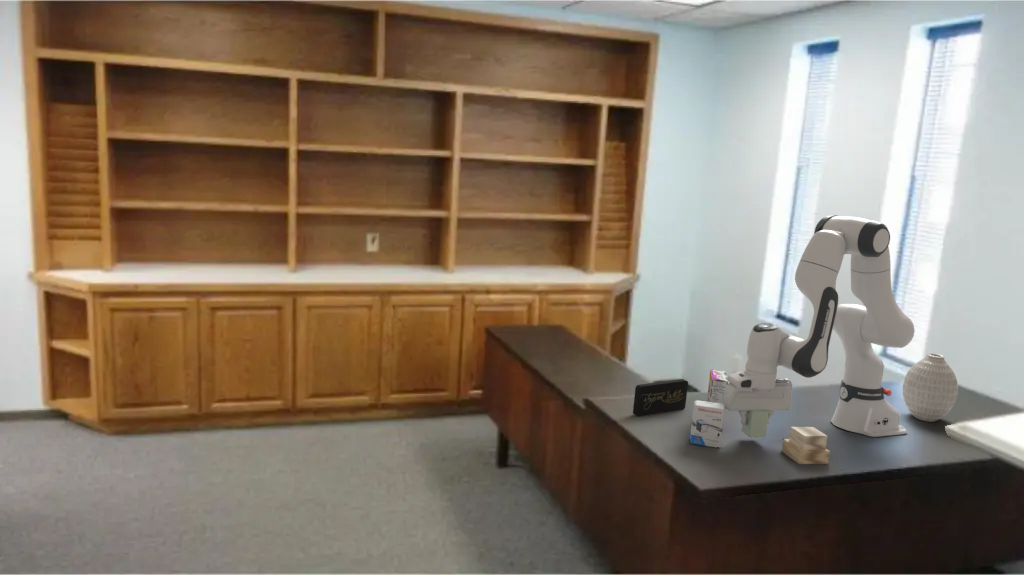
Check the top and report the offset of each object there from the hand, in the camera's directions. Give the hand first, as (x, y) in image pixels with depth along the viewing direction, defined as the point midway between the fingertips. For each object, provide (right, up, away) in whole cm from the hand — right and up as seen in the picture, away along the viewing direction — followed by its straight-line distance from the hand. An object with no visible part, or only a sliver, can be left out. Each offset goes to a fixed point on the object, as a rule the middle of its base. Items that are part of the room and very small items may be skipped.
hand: (754, 423), depth 217 cm
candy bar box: (-9, -3, +12) cm, 15 cm away
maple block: (+12, -4, -9) cm, 15 cm away
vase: (+69, -5, +34) cm, 78 cm away
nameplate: (-24, 0, +21) cm, 32 cm away
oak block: (+11, -8, -8) cm, 16 cm away
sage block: (0, -3, +1) cm, 3 cm away
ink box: (-15, -5, -3) cm, 17 cm away
